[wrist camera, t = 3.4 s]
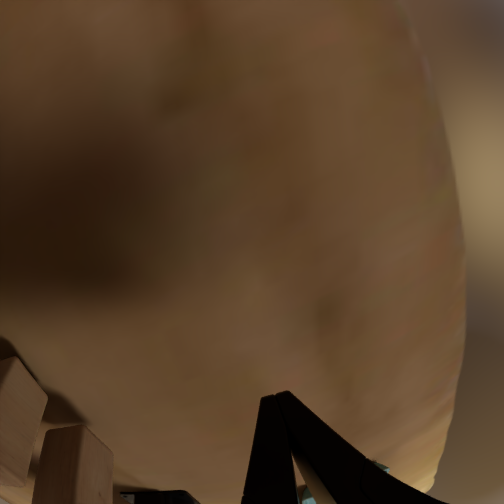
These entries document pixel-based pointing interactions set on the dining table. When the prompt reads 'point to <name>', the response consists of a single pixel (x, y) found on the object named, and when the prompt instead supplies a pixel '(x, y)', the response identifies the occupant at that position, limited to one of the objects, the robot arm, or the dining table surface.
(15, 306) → the dining table surface
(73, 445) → the wooden block set
